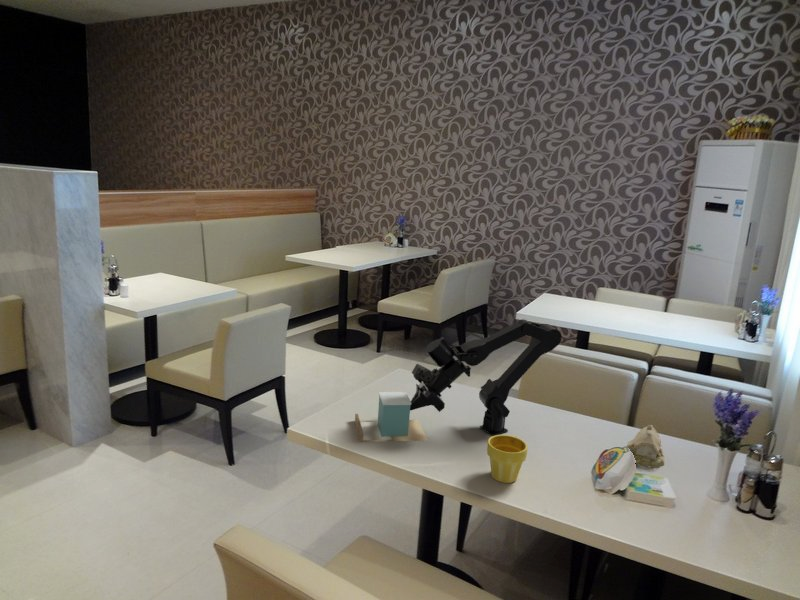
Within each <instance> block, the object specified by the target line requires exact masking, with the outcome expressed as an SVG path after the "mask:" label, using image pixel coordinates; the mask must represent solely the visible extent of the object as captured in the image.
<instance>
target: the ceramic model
mask: <svg viewBox="0 0 800 600" xmlns="http://www.w3.org/2000/svg"><path fill="white" fill-rule="evenodd" d="M661 443H662V441H661V437H660V435H659V433H658V432H657V429H656V428H654V426H653V424H648V425H647V426H644V427H643V428H641V429H640V430H639V431H638V432H637V433H636V434H635V435H634V438H633V439H632V440H630V441H628V442H627V445H626V446H627V449H628V448H629V449H630V451H631V452H632V453H633V455H634V458H635V460H636V464H635V465H640V466H646V467H649V468H660V467H663V466H664V465H665V455H664V451H663V447H662V444H661Z"/></svg>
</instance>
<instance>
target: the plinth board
mask: <svg viewBox="0 0 800 600" xmlns="http://www.w3.org/2000/svg"><path fill="white" fill-rule="evenodd" d="M354 423H355V428H356V430H357V431H356V432H357V435H358V440H359V442H360V443H370V442H371V443H375V442H378V443H379V442H383V443H384V442H412V441H413V442H416V441H418V442H419V441H421V442H423V441H428V438H427V436H426V434H425V432H424V430H423V427H422V426H421V424H420V422H419V420H418V419H409V430H408V436H383V437H382V436H381V434H380V431H379V428H378V420H360V416H359V413H355V414H354Z"/></svg>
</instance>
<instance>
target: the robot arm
mask: <svg viewBox="0 0 800 600" xmlns="http://www.w3.org/2000/svg"><path fill="white" fill-rule="evenodd" d="M525 336H528V337H531V338H530V340H529V344H528V346H527V347H526V348H525V349H524V350H522V352H521V353H520V355H518V357H517V358H515V360H514V361H513V362H512V363H511V364H510V366H509V367H508V368H506V370H505V371H504V372H503V373H502V374H501V375H500V377H499V378H497V379H494V380H492V379H491V378H489V379H487V380H486V382H485V384H483V385H482V386H480V390H479V393H478V395H479V397H478V398H479V400H480V401H481V403H482V404H483V406H484V408H486V410H485V411H484V416H483V421H482V425H479V429H481V430H483V431H485V432H487V433H488V434H489V435H491V436H496V435H502V434H504V433H508V431H509V430H508V429H507V428H506V427H505V426H506V425H505V424H506V418H507V417H508V416H509V414H510V412H511V411H510V409H509V408H508V407H507V406H506V405H505V403H506V401H507V399H508V398H509V394H510V391H511V389H512V388H513V387H514V386H515V385H516V384H517V383H518V381H519V380H520V379H521V378H522V377H523V376H524V375H525V374H526V373H527V371H529V369H530V368H532V366H533V365H534V364H535V363H536V362H537V360H539V358H541V356H543V355H545V354H547V353H549V352H552V351H553V350H554V349H555V348H557V347H558V346H559V345H560V344H561V342H562V340H563V339H562V337H563V336H562V333H561V332H560V330H558V329H556V327H553V326H552V325H550V324H548V323H542V324H539V323H536V322H532V321H529V320H527V319H525V318H523V319H519V320H518V321H517V322H515V323H513V324H511V325H509V326H507V327H505V328H502V329H501V330H498V331H497V332H494V333H493V334H491V335H488V336H487V337H484V338H479V339H473V340H469V341H467V342H464V343H462V344H460V345H452V346H450V344H449V343H448V342H447V340H446V339H445V338H444V337H443V336H442V337H440V338H438V339H437V338H436V339H435V340H433V341H431V342H430V343H429V344H428V345H427V346H426V347H425V349H424V353H426V354H427V355H428V356H429V358H431V360H432V361H433V362H434V363H435V364H436V365H437V366H440V368H438V369H437V368H434V369H432V370H431V369H429V368H427V367H426V366H423V365H421V364H419V363H416V364H415V366H414V368H413V370H412V371H411V374H412V375H413V378H414V379H415V381H417V382H418V383H419V384H417V383H416V384H415V386H416V390H415V393H414V395H413V397H412V398H411V400H410V401H411V405H410V412H411V411H413V410H417V409H421V408H425V407H430V406H433V407H434V408H435V409H436V410H437V412H439V413H440V412H441V411H443V410H444V409H445V405H446V404H445V402H444V400H443V399H442V394H441V393H443V392H444V391H445V390H446V389H447V388H448V389H451V388H452V387H453V386H452V385H451V384H453V383H454V382H455V381H456V380H457V379H458V378H459V377H461V376H462V375H463V374H464V373H465V375H466V376H467V377H471V370H472V367H475V366H478V365H479V364H481V363H482V362H483V361H485V360H486V359H487V358H488V357H489V356H490V355H491V354H492V353H494V352H495V351H497V350H499V349H501V348H503V347H504V346H507V345H509V344H511V343H513V342H515V341H516V340H520V339H521V338H524V337H525ZM454 356H455V358H456V359H455V358H454Z"/></svg>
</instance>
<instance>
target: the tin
mask: <svg viewBox="0 0 800 600" xmlns="http://www.w3.org/2000/svg"><path fill="white" fill-rule="evenodd" d="M378 396H379V397H378V409H377V410H378V411H377V412H378V413H377V421H378V428H379V431H380V434H381V436H382V437H383V436H408V430H409V420H410V413H411V411H410V405H411V400H410V398H409V395H408V393H407V392H406V391H385V392H384V391H379V392H378Z"/></svg>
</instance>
